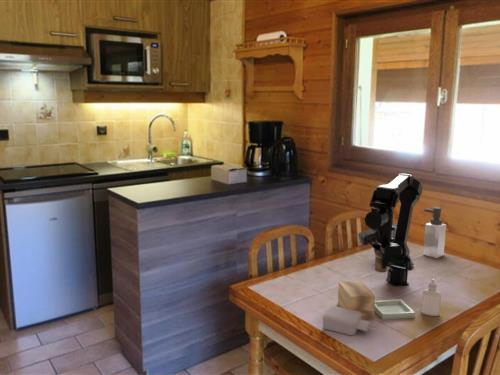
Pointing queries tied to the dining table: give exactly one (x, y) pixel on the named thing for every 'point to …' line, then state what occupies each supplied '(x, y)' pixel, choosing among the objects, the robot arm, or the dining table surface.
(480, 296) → the dining table surface
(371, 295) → the pine unit
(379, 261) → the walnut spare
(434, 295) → the eye dropper bottle
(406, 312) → the green tray
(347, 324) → the grey plastic bottle
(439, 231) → the soap dispenser
